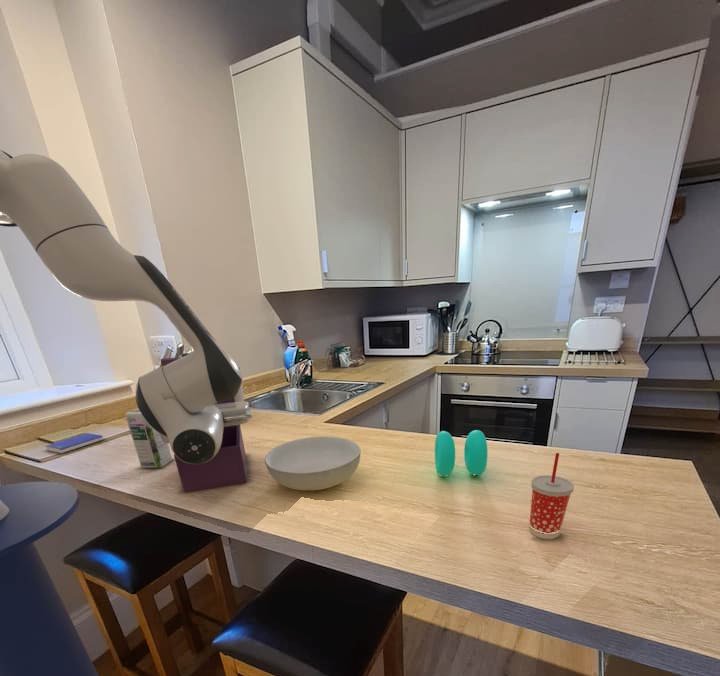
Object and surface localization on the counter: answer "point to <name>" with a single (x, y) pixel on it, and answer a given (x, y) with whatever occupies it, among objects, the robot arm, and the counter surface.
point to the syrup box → (147, 441)
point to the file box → (217, 464)
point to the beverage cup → (549, 503)
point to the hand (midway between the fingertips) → (206, 407)
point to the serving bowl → (313, 462)
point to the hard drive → (74, 443)
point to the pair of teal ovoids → (472, 453)
